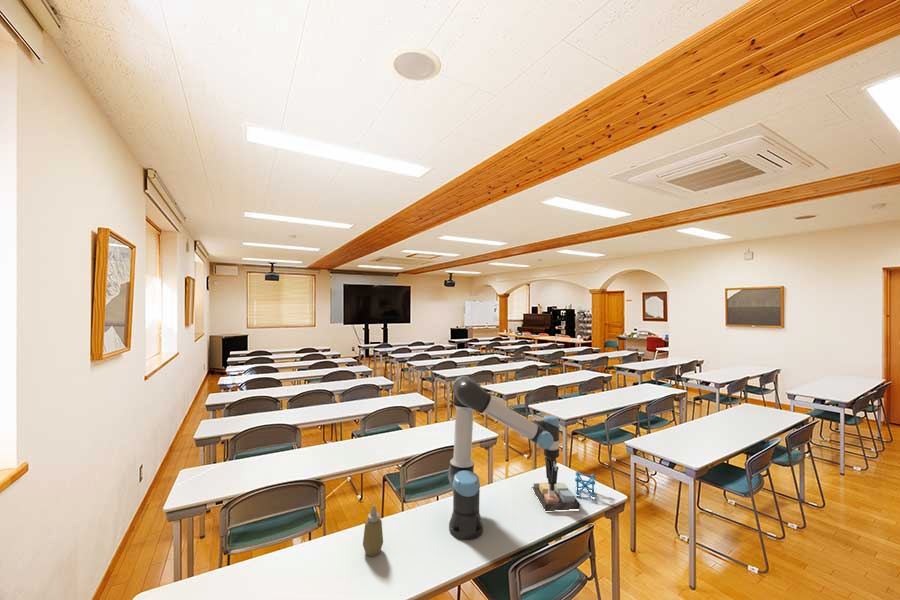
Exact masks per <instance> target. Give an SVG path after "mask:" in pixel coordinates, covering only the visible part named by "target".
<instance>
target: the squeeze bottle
mask: <svg viewBox="0 0 900 600" xmlns="http://www.w3.org/2000/svg"><path fill="white" fill-rule="evenodd" d="M363 531H364V532H363V539H362V540H363V541H362V546H363V549H364V553H365V555H367V556H369V557H374V556H377V555H378V554H380V553H381V550H382V548H383V545H384V535H383V523H382V519H381V518H380V513H379V512H377V508H376V505H375V504H373V505H372V507H371V511H370V513H368V514H367V519H366V520H365V524H364V530H363Z"/></svg>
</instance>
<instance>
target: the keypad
mask: <svg viewBox="0 0 900 600" xmlns="http://www.w3.org/2000/svg"><path fill="white" fill-rule="evenodd" d="M547 483H548V482H541V483H537V482H536V483H533V486H531V489H532V488H533V490H534V492H535V494H536V496H537V497H538V499H539V501H540V503H541V504H542V506H543V508H544V509H545V511H555V510H569V509H580V510H581V507H580V505H581V504H580V501H578V499H577V497H575V502H563V501H562V499H561V498H560V494H557V493H556V491H555V494H556V496H557V497H558V498H559V503H547V502H546V501H545V499H544V495H542V493H541V492H540V490H539V484H547ZM569 490H570V489H568V491H569ZM535 494H534V495H535ZM536 496H535V497H536ZM538 499H537V500H538ZM539 501H538V502H539ZM540 503H539V504H540ZM541 504H540V505H541ZM542 506H541V507H542ZM543 508H542V509H543ZM544 509H543V510H544ZM545 511H544V512H545Z"/></svg>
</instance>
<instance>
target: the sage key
mask: <svg viewBox="0 0 900 600" xmlns="http://www.w3.org/2000/svg"><path fill="white" fill-rule="evenodd" d="M568 490H569V487H568V486H567V484H566V483H564V482H557V483H556V484H555V491H556V493H557V494H560V491H568Z"/></svg>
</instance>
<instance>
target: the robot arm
mask: <svg viewBox="0 0 900 600" xmlns="http://www.w3.org/2000/svg"><path fill="white" fill-rule="evenodd" d="M452 393H453V396H452V397H453V400H452V401H453V403H452V405H453V407H455V419H454V422H455V424H454V441H453V455H452V456H453V457H452V458H451V459H450V461H449V467H448V471H447V478H448V482H449V484H450V489H451V491H452V495H453V496H452V497H453V499H452V500H453V501H452V503H453V504H452V505H453V506H452V507H453V508H452V509H453V510H452V513H451V516H450V520H449V523H448V530H449V533H450V535H451V536H453V537H455V538H456V539H459V540H465V541H471V540H476V539H478V538H479V537H480V536H482V535H483V533H484V522H483V519H482V516H481V513H480V491H481V490H480V488H481V484H480V483H481V482H480V478H479V475H478V474H477V473H475V472H474V471H475V469H474V468H475V462H474V460H473V459H472V447H473V429H474V427H473V425H474V411H475V412H476V413H477V412H478V413H479V414H480V415H481V414H485V415H486V416H488V417H490V418H492V419H494V420H496V421H497V422H499V423H500V424H502V425H504V426H506V427H507V428H508V429H511V430H512V431H514V432H516V433H518V434H520V435H521V437H523V438H526V439H528V440H530V441H532V442H533V443H535V444H536V445H537V446H538V447H540V448H541V449H543V456H544V460H545V470H546V471H545V474H546V479H547V483H548V495H549V497H555V484H556V483H558V481H557V480H558V472H559V471H558V470H559V466H557V458H559V457H560V449H559V448H560V443H561V441H560V420H559V417H558V416H556V415H551V414H547V415H544V416H543V420H542V419H541V420H529V419H528V418H526V417H524V416H523V415H521V414H520V413H518V412H516V411H515V410H513V409H511V408H509V407H508V406H507V405H505V404H503V403H501V402H500V401H498V400H496V399H494V398H493V396H492V394H491V393H489V392H487V391H486V390H485V389H483V387H481V386H480V385H479V384H478V383H477V382H476V381H475V380H474V378H472V377H469V376H466V375H465V376H459V377H457V378H456V379H455V380H454V382H453V384H452Z"/></svg>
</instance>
